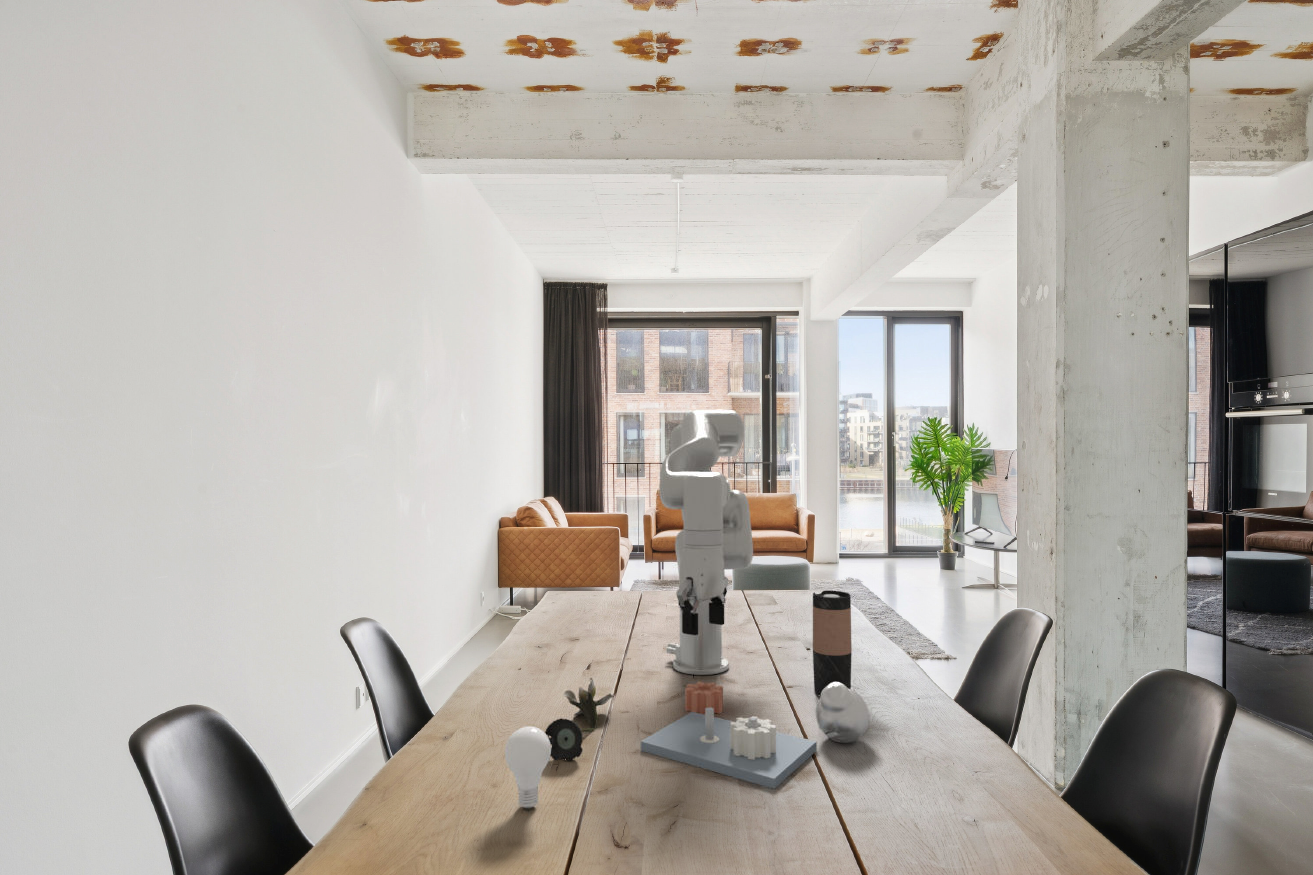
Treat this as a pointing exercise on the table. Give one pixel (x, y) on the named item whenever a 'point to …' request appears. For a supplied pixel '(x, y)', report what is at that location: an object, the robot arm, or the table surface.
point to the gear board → (726, 749)
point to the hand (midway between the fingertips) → (703, 628)
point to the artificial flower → (574, 724)
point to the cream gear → (753, 738)
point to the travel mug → (831, 639)
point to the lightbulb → (528, 761)
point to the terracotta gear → (703, 697)
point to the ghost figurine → (842, 713)
